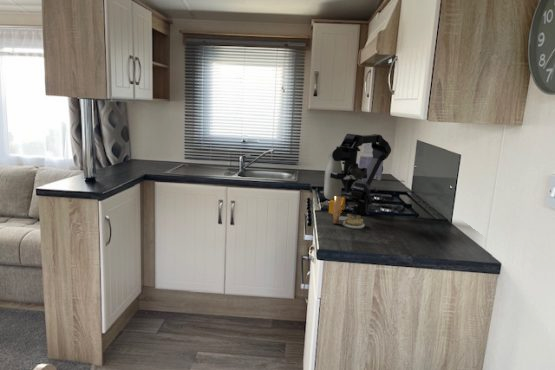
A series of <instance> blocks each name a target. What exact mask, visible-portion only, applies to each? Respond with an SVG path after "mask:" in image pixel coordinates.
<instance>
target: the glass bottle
mask: <svg viewBox="0 0 555 370" xmlns="http://www.w3.org/2000/svg"><path fill="white" fill-rule="evenodd" d="M333 151H334V150H333ZM333 151H330V152H329V154H328V160H327V164H326V168H325V170H324V182H323V185H324V186H323V195H324V198H325V199H327V200H329V201H331V200H333V201H334V197H335V196H341V194H342V187H343V183H342V181H341V179H334V178H330V174H331V172H341V173H342V170H343V164H342V161H335V160H334V159H333V157H332V153H333Z"/></svg>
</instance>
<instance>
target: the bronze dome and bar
mask: <svg viewBox="0 0 555 370" xmlns="http://www.w3.org/2000/svg"><path fill="white" fill-rule="evenodd" d="M342 198H343V196H341V195H340V196H335V197H334V200H333V201H334V209H333V214H332V220H331V221H332V223H333V224H340V220H341V221H345V223H346V224H349V225H356V226H358V225H362V224H363V223H364V219H363V218H362V215H357V214H356V216H353V215H352V214H351V213H350V214H349V213H347V214H346V215H347V216H342V215H341V213H340V211H341V200H342Z"/></svg>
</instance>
